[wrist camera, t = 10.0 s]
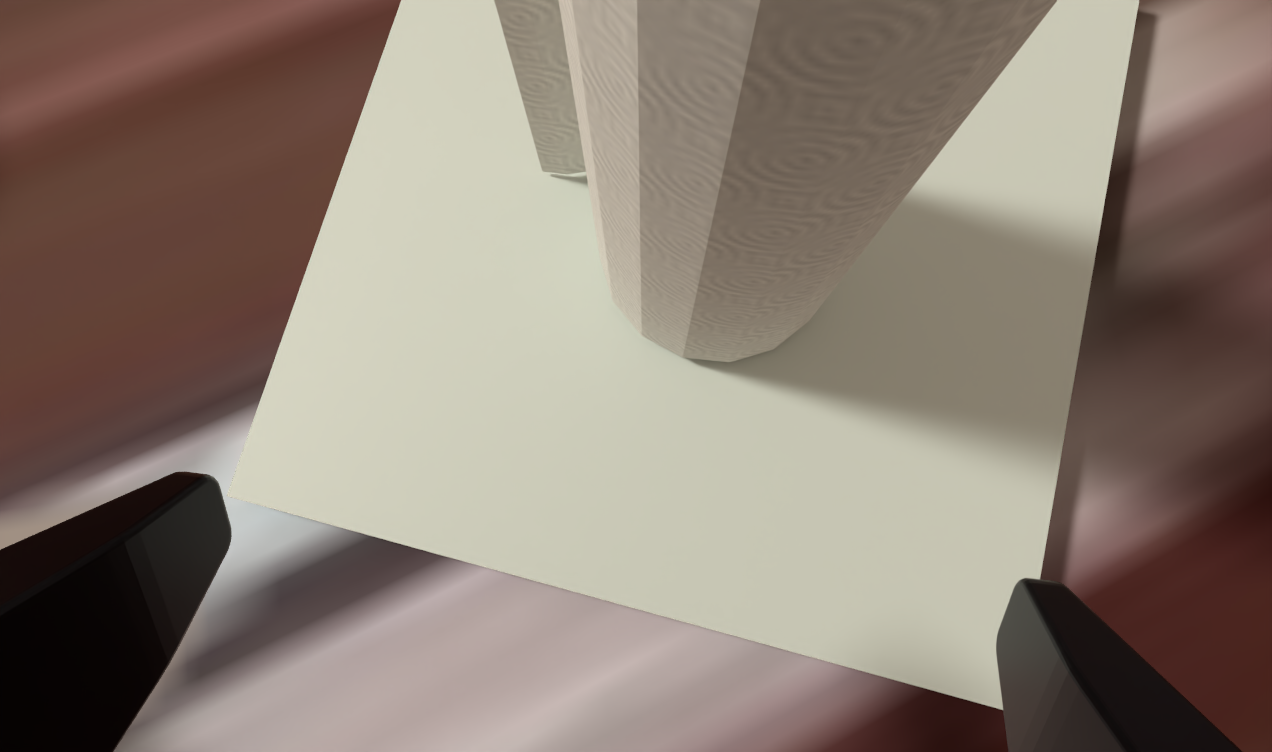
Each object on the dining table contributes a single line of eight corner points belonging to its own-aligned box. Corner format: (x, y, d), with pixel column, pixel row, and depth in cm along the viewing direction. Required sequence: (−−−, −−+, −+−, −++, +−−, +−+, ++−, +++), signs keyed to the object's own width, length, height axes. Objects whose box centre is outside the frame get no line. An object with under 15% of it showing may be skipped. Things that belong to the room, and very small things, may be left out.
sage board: (999, 705, 21) (1016, 713, 20) (245, 497, 22) (226, 495, 21) (1122, 6, 24) (1142, -16, 23) (467, -141, 25) (460, -169, 24)
